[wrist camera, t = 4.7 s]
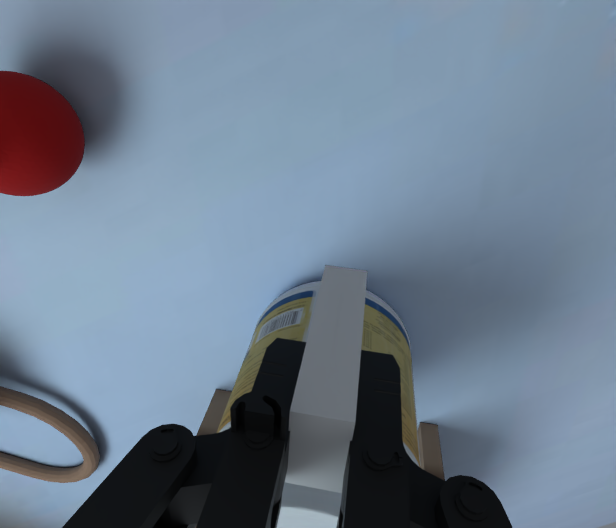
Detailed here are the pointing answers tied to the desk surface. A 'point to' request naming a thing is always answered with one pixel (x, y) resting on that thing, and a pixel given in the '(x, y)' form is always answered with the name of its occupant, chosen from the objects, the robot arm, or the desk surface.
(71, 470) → the brown curved horn
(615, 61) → the desk surface
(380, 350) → the supplement tub
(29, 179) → the christmas ornament
